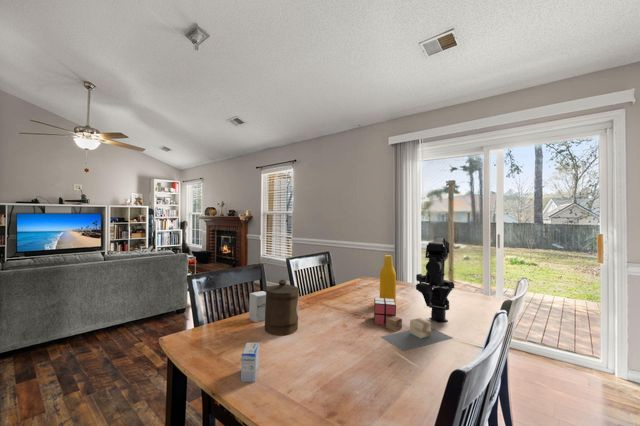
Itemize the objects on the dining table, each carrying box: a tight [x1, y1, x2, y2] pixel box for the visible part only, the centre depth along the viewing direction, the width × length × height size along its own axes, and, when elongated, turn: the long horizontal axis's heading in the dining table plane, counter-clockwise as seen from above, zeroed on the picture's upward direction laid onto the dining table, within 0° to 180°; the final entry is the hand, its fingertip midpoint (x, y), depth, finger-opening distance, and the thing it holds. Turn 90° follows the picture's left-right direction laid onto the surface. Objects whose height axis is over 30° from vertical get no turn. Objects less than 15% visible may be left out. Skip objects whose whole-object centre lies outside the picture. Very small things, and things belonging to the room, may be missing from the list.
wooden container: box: [264, 279, 299, 336], centre depth 127 cm, size 15×15×22 cm
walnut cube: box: [385, 315, 403, 332], centre depth 129 cm, size 5×5×5 cm
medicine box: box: [240, 342, 260, 383], centre depth 89 cm, size 8×4×9 cm, turn 5°
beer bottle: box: [379, 254, 397, 305], centre depth 163 cm, size 9×9×29 cm
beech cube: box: [409, 317, 432, 339], centre depth 121 cm, size 6×6×6 cm
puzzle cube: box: [373, 297, 397, 325], centre depth 138 cm, size 10×10×10 cm
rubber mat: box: [380, 327, 454, 352], centre depth 119 cm, size 28×14×1 cm, turn 117°
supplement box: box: [248, 290, 266, 323], centre depth 138 cm, size 7×7×13 cm
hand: (435, 304), depth 127 cm, fingers open, 9 cm apart
